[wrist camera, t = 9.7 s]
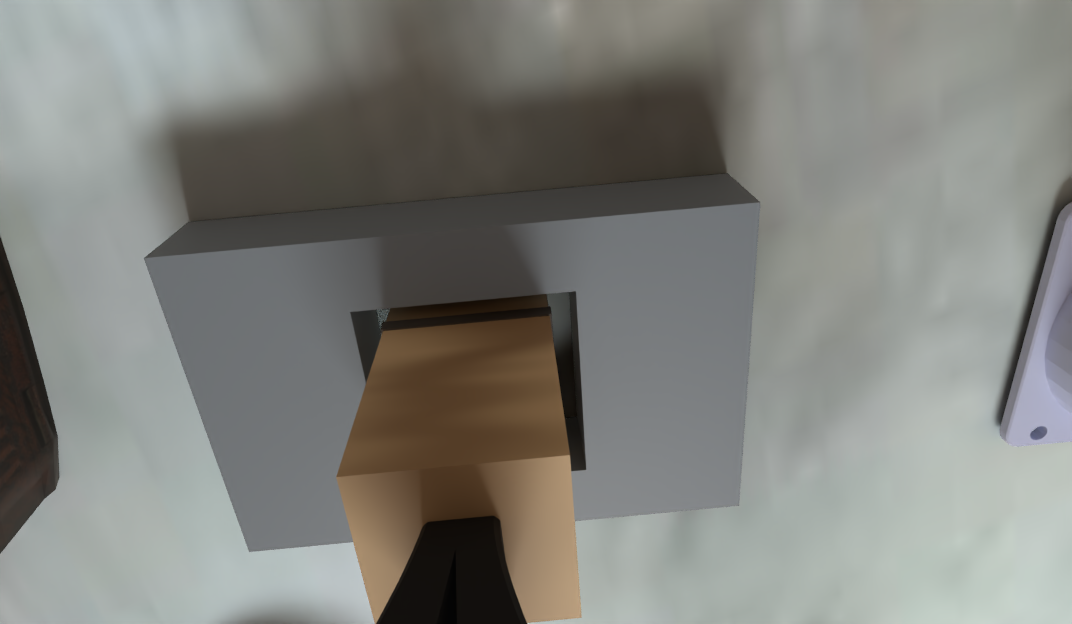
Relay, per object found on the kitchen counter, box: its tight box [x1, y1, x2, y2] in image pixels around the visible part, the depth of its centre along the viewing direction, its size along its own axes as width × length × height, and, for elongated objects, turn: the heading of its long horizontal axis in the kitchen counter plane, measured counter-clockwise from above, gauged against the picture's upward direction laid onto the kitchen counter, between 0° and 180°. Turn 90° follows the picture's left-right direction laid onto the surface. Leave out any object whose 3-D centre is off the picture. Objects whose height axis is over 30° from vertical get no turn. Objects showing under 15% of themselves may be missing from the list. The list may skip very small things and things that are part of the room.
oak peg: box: [336, 294, 582, 624], centre depth 16 cm, size 4×4×8 cm
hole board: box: [144, 173, 760, 552], centre depth 19 cm, size 14×9×2 cm, turn 94°
